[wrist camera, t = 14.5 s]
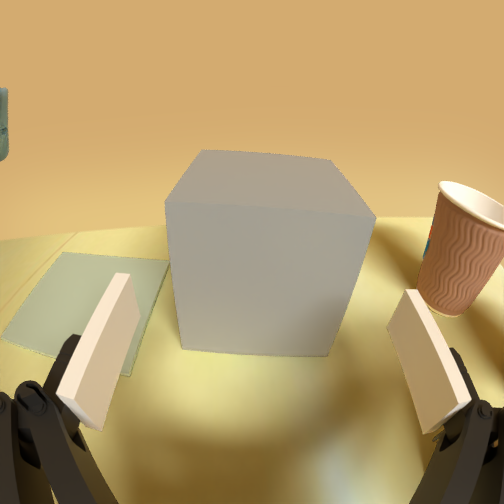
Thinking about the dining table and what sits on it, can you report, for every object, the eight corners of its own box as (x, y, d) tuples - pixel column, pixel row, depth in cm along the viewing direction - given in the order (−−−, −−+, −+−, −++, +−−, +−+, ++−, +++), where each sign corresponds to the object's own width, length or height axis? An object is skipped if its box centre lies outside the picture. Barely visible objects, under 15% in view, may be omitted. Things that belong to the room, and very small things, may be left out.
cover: (182, 349, 21) (164, 201, 14) (202, 263, 30) (201, 149, 24) (327, 356, 21) (376, 217, 15) (309, 270, 31) (330, 160, 24)
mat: (2, 340, 18) (0, 337, 18) (63, 254, 30) (62, 251, 29) (129, 376, 18) (128, 373, 18) (170, 263, 30) (169, 260, 30)
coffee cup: (439, 266, 33) (470, 184, 26) (487, 316, 25) (533, 228, 18) (386, 276, 31) (419, 176, 24) (439, 340, 22) (498, 231, 16)
